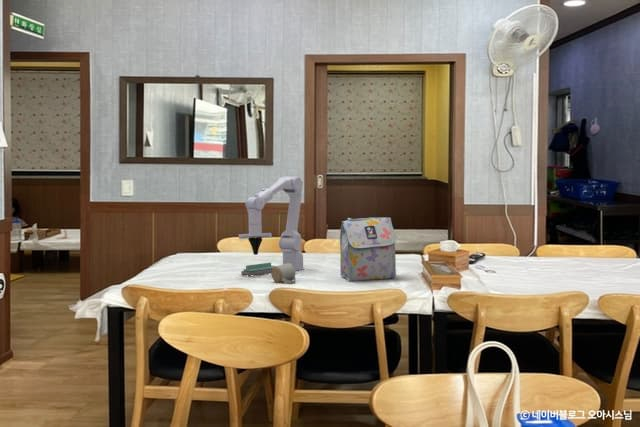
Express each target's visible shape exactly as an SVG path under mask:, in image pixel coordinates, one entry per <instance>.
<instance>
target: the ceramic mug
mask: <svg viewBox="0 0 640 427" xmlns="http://www.w3.org/2000/svg"><path fill="white" fill-rule="evenodd" d="M274 266H275V267H274V268H273V269H272V271H271V273H270V274H271V278H272V280H273V281H274V282H275V283H284V284H288V285H292V284H295V283H296V279H297V278H296V271H295V269H294V267H293V265H292V264H290V263H287V264H283V263H282V264H279V265H274Z"/></svg>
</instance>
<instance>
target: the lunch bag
mask: <svg viewBox="0 0 640 427" xmlns="http://www.w3.org/2000/svg"><path fill="white" fill-rule="evenodd" d="M339 230H340V231H339V232H340V233H339V242H340V243H339V246H340V248H339V249H340V260H339V263H340V277H342V278H346V280H347V281H348V282H351V281H352V282H353V281H354V282H356V281H357V282H359V281H368V280H369V281H370V280H371V281H372V280H385V279H386V280H387V279H396V277H397V270H396V264H397V263H396V261H397V260H396V242H397V236H396V232H395V228H394V227H393V223H392V218H391V217H365V218H351V217H347V220H344V221H343V220H342V221H341V226H340V229H339Z"/></svg>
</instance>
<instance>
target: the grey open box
mask: <svg viewBox="0 0 640 427" xmlns="http://www.w3.org/2000/svg"><path fill="white" fill-rule="evenodd" d="M271 271H272V269H265V270H258V271H251V272H249V271H244V270H241V271H240V272H241V274H242V275H241V276H244V275H248V276H247V277H252V276H251V275H256V276H260V275H259V274H263V275H268V274H267V273H270V274H271Z"/></svg>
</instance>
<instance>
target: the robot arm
mask: <svg viewBox="0 0 640 427" xmlns="http://www.w3.org/2000/svg"><path fill="white" fill-rule="evenodd" d="M303 183H304V182H303V179H302V178H301V177H300V176H298V175H296V176H285V175H283V176H281V177H278V179H277V181H276V182H275V183H273V184H272V185H271V186H270V187H269V188H262V189H260V190H261V191H259V192H257V193H255V194H254V196H250V197H248V198H247V200H246V202H245V205H244V206H245V208H246V209H247V210H246V211H247V214H248V233H241V234H238V239H239V240H246V239H248V242H249V244H250V246H251V249H252V253H253V255H255V256H256V255H258V254H259V250H260V247H261V244H262V242H263V239H267V238H269V239H270V238H272V232H263V231H262V230H263V228H262V225H263V224H262V222H263V221H262V210H263V209H264V207H265V205H267V203H268V202H270V201H271V200H273V197H274V195H275V194H277V193H278V192H280V191H283V192H284V193H286V194H287V195H288V197H289V201H288V209H287V216H286V218H287V219H286V224H285V230H284V231H283V232H282V233H281V235H280V238H279V241H278V246H279V249H281V250H280V251H281V252H282V264H287V263H290V264H292V265H293V267H294V269H295V272H297V271H302V270H305V267H304V254H303V251H300V250H301V248H302V245H303V244H302V235H301V234H300V233H299V232H298V227H299V220H300V211H301V205H302V204H301V202H302V198H303V197H302V196H303V194H302V192H303Z"/></svg>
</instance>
